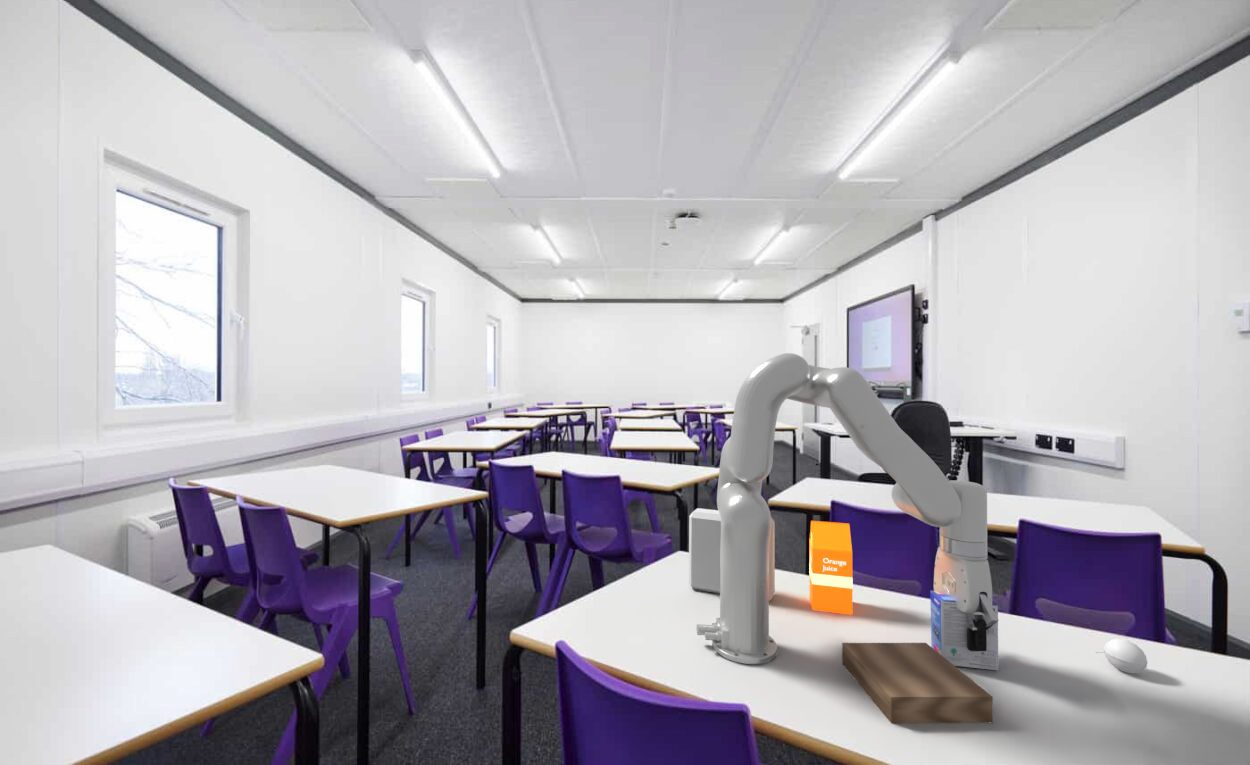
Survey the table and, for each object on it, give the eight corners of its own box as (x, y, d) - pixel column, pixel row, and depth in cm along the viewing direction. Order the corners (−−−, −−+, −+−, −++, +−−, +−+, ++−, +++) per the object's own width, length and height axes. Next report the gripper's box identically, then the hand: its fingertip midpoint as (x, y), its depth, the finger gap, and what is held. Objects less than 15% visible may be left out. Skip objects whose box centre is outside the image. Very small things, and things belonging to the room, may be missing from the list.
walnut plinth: (891, 723, 74) (891, 697, 74) (842, 664, 90) (842, 642, 90) (992, 722, 74) (992, 696, 74) (925, 664, 90) (925, 642, 90)
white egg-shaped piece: (1134, 665, 90) (1133, 635, 91) (1155, 682, 85) (1155, 651, 85) (1083, 657, 93) (1083, 628, 93) (1101, 674, 88) (1101, 643, 88)
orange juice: (852, 615, 110) (852, 528, 111) (812, 609, 113) (812, 524, 113) (847, 600, 118) (847, 519, 118) (809, 596, 120) (809, 516, 121)
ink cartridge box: (984, 655, 93) (984, 581, 93) (1000, 672, 88) (1001, 593, 88) (928, 649, 95) (928, 577, 95) (941, 665, 90) (941, 588, 90)
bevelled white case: (775, 592, 122) (775, 514, 123) (771, 605, 115) (771, 522, 115) (695, 579, 131) (696, 505, 131) (687, 590, 123) (687, 512, 124)
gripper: (915, 533, 100) (915, 619, 100) (977, 562, 83) (978, 666, 83) (950, 533, 101) (951, 619, 100) (1020, 562, 83) (1020, 666, 83)
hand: (963, 639), depth 92 cm, fingers closed on ink cartridge box, 6 cm apart
